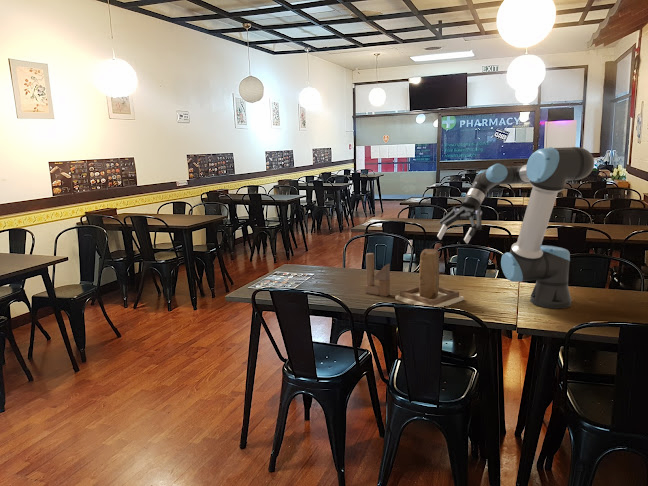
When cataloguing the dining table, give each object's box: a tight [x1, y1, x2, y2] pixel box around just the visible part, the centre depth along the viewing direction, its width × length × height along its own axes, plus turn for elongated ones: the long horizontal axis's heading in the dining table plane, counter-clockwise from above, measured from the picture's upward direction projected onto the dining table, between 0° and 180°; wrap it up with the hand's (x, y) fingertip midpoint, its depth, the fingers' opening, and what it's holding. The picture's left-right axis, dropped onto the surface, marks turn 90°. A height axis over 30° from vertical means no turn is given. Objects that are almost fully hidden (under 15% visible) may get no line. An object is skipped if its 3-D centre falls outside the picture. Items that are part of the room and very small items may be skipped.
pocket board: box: [395, 285, 465, 308], centre depth 206 cm, size 20×20×4 cm
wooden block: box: [364, 252, 391, 297], centre depth 215 cm, size 4×11×18 cm, turn 56°
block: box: [418, 248, 440, 299], centre depth 205 cm, size 11×8×20 cm
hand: (451, 239), depth 210 cm, fingers open, 13 cm apart
